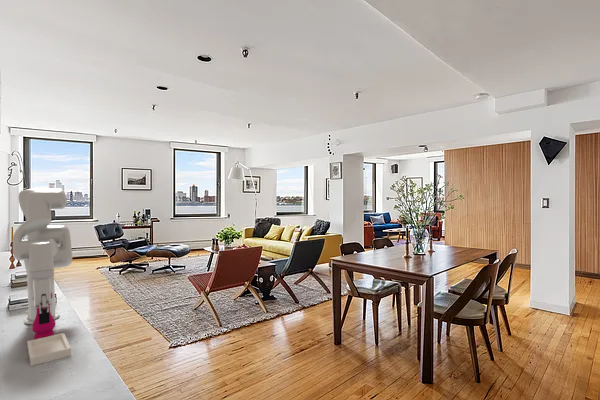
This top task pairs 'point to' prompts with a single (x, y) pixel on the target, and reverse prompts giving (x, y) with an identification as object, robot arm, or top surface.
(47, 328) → the pepper mill
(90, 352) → the top surface
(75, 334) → the top surface
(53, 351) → the tray
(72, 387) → the top surface
